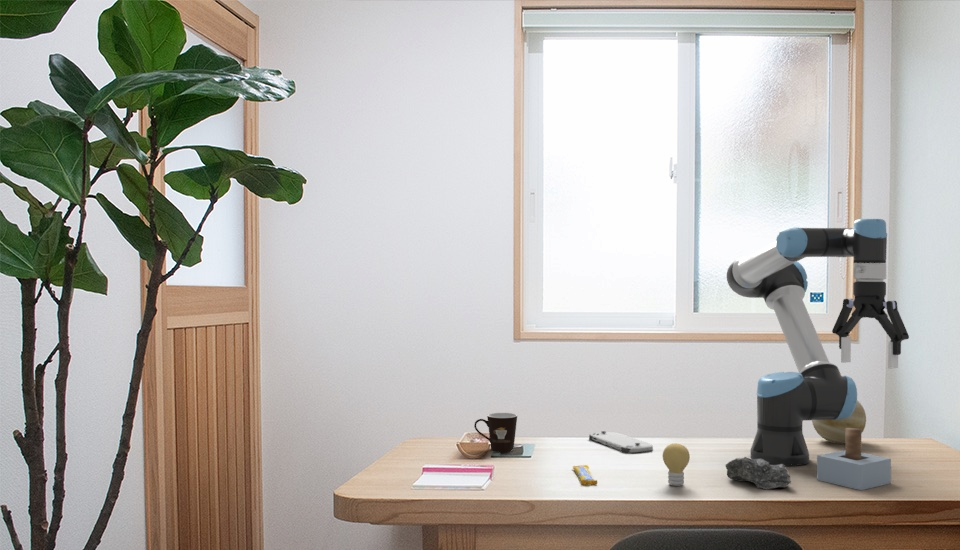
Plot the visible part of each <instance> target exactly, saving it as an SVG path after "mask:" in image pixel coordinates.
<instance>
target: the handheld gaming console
mask: <svg viewBox="0 0 960 550" xmlns="http://www.w3.org/2000/svg"><path fill="white" fill-rule="evenodd" d="M588 439H589V441H594V442H596V443H597V444H598V443H599V444H601V445H604V446H607V447H609V448H612V449H614V450H618V451H620V452H621V453H623V454H638V453H639V454H641V453H649V452H652V451H653V450H654V449H653V448H654V446H653V444H651V443H649V442H647V441H643V440H640V439H637V438H634V437H631V436H629V435H626V434H623V433H620V432H616V431H615V432H613V431H605V430H604V431H600V432H594V433H590V434H589V436H588Z"/></svg>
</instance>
